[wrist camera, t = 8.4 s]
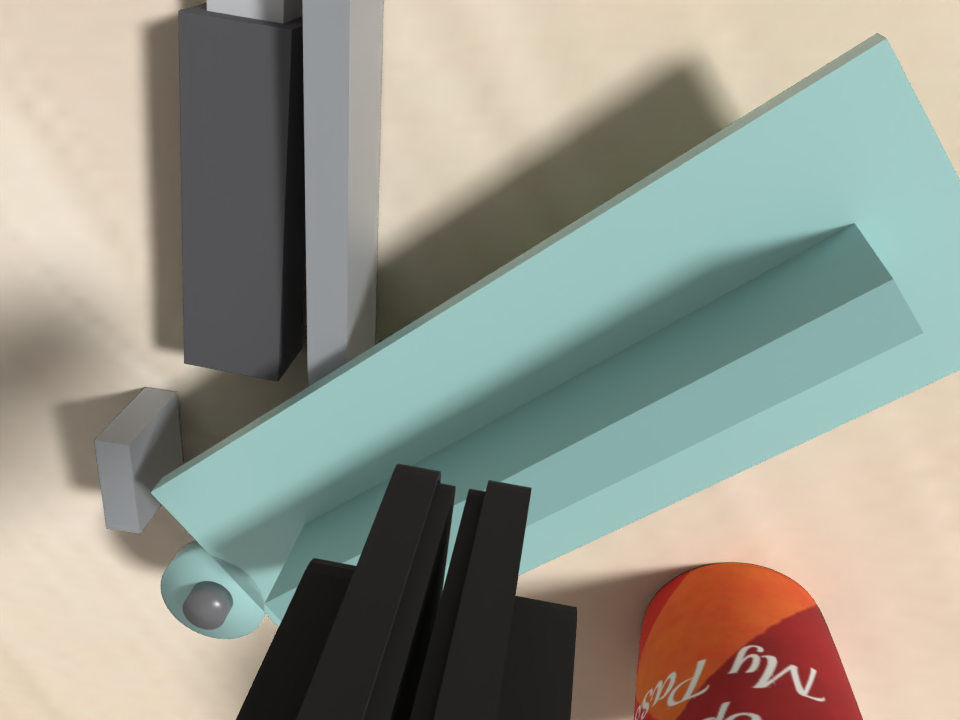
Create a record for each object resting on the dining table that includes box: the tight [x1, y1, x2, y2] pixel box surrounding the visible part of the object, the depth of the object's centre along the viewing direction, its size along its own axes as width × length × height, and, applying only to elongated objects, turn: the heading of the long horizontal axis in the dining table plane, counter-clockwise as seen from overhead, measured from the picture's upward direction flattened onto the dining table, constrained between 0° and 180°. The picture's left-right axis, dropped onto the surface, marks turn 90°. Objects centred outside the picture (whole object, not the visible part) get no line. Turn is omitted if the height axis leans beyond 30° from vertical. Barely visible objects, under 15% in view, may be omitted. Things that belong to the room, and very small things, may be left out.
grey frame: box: [94, 0, 384, 534], centre depth 23 cm, size 22×7×3 cm, turn 176°
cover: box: [151, 33, 960, 639], centre depth 21 cm, size 22×7×4 cm, turn 126°
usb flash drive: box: [179, 0, 306, 382], centre depth 23 cm, size 10×3×2 cm, turn 172°
